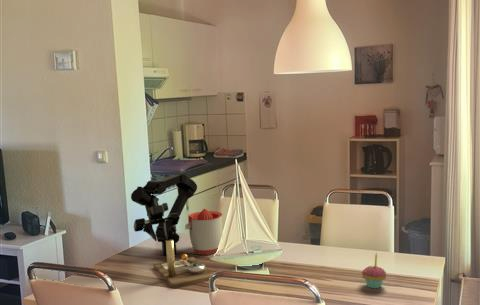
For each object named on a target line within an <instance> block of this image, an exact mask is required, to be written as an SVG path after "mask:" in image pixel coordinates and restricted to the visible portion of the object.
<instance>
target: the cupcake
mask: <svg viewBox="0 0 480 305" xmlns="http://www.w3.org/2000/svg"><path fill="white" fill-rule="evenodd" d="M377 260H378V255H377V252H375V254H374V265H372V266H371V265H370V266H367V267H365V268H364V269H363V270H362V272H361V276H362V278H363V279H364V280H365V283H366V286H367V287H368V288H369V287H371V288H370V289H373V288H377V289H380V288H381V287H382V284H383V282H384V280H386V279H387V272H386V271H385V270H384V268H382V267H379V266H377V264H378V263H377V262H378V261H377ZM379 287H380V288H379Z"/></svg>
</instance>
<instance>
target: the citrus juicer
mask: <svg viewBox="0 0 480 305" xmlns="http://www.w3.org/2000/svg"><path fill="white" fill-rule="evenodd" d="M184 230H189V239H190V244H191V246H192V249H193V251H194V253H195V254H199V256H200V255H202V256H203V255H211V254H215V252H216V251H217V249H218V245H219V242H220V238H221V234H222V232H223V213H222V212H220V211H214V210H212V211H211V210H208V209H206V208H203V209H202V210H201V211H198V212H197V211H196V212H191V213H190V214H188V223H186V224H185V226H184Z"/></svg>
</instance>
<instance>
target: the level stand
mask: <svg viewBox="0 0 480 305" xmlns="http://www.w3.org/2000/svg"><path fill="white" fill-rule="evenodd" d="M188 260H190V261H191V262H192V263H201V261H199V260H198V259H197V258H195V256H188ZM188 265H189V263H188V262H187V261H186V260H185V261H184V260H182V258H180V259H175V269H180V268H185V267H187V266H188ZM153 268H154V269H155V270H156V272H157V273H158V274H159V275H160V276H161V277H162V278H163V279H164V280H165V281H166V282H167V283H168V284H169V286H170V287H171V288H172V289H178V288H182V287H187V286H191V285H196V284H201V283H205V282H209V281H210V280H209V277H210V275H211V274H212V273H214V272H213V271H212V270H210V269H209V268H208V267H207V266H205V271H204V272H202V273H199V274H191V273H188V271H185V272H180V273H176V275H175V276H173V277H170V276H168V266H167V261H164V262H159V263H154V264H153ZM208 280H209V281H208ZM204 281H205V282H204ZM200 282H201V283H200Z"/></svg>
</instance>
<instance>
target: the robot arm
mask: <svg viewBox="0 0 480 305" xmlns="http://www.w3.org/2000/svg"><path fill="white" fill-rule="evenodd" d="M173 186H176V187H177V196H176V198H175V201H174V203H173V204H172V207H171V209H170V211H169V204H168V203H167V202H163V203H162V204H159V200H160V199H159V198H158V197H157V195H162V194H164V193H165V192H166V191H167V189H168V188H171V187H173ZM197 189H198V185H197V183H196V182H195V181H194V180H193V179H191V178H190V177H188V176H187V175H186V174H185V173H183V172H182V173H181V172H180V173H174V174H171V175H170V176H167V177H164V178H162V179H155V180H154V179H153V180H152V179H151V180H148V181H147V182H146V184H145V185H144V186H137V187H136V189H133V191H132V193H131V194H130V195H131V196H130V200H131V201H132V202H134V203H136V204H138V205H140V206H144V208H145V211H146V216H147V217H148V219H145V218H144V217H143V218H142V217H141V218H137V219H135V220H134V222H133V230H134V232H135V233H136V232H142V231H143V232H144V233H147V234H148V235H149V236H150V237H151V238H152V239H153V240H154V241H155V242H158V243H161V250H162V252H161V253H159V256H162V257H166V258H167V252H166V240H174V255H175V256H177V255H179V254H180V252H179V251H177V243H178V242H179V241H180V235H179V234H178V233H177V225H178V223H179V222H180V221H179V220H180V218H181V217H180V216H181V214H182V212H183V210H184V207H185V205H186V203H187V202H188V200H189V199H191V198H192V197H193V196H194V195H195V193H196V192H197ZM168 211H169V213H168V214H167V217H164V216H165V213H166V212H168ZM153 225H157V226H156V229H155V230H154V227H153Z"/></svg>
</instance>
